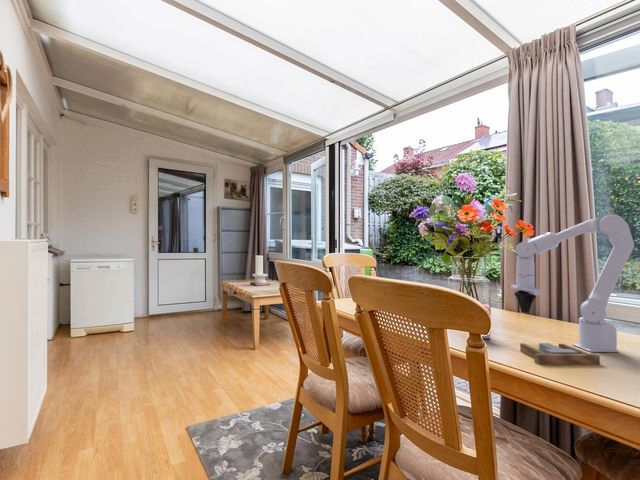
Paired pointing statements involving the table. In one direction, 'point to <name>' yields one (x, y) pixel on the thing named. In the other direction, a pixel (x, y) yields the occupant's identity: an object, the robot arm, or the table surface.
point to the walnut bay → (560, 356)
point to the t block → (554, 349)
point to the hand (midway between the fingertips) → (525, 312)
